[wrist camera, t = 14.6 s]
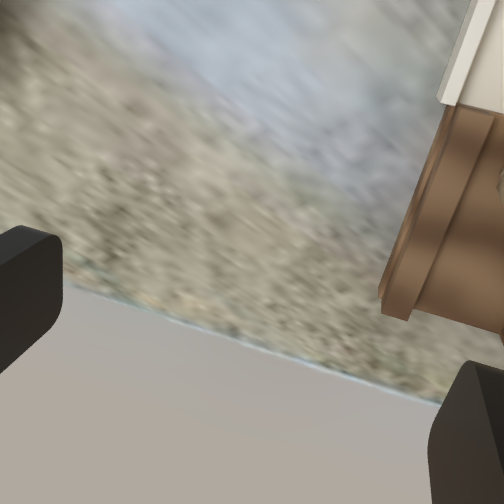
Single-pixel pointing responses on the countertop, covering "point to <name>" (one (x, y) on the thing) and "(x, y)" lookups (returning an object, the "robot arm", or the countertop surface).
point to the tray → (477, 59)
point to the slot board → (454, 228)
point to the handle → (501, 186)
